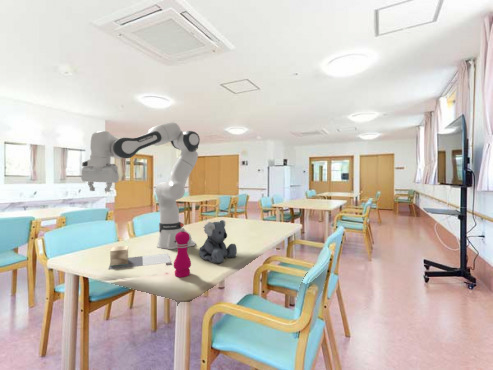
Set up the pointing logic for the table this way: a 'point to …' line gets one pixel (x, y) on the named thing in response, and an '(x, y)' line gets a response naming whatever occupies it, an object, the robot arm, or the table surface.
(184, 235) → the pepper mill
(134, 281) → the table surface
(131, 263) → the mat
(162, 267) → the table surface
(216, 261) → the koala plush
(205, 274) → the table surface
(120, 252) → the beech block
